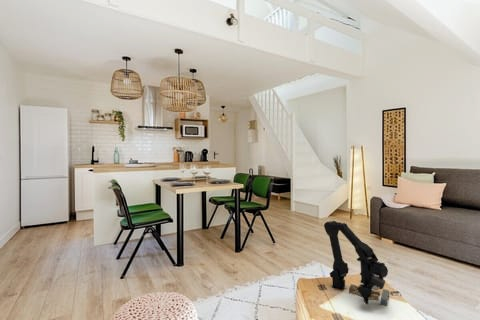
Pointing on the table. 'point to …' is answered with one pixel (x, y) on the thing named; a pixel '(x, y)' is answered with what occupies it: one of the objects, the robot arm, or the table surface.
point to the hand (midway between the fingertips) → (368, 300)
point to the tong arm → (373, 296)
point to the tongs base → (357, 289)
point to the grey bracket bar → (384, 297)
